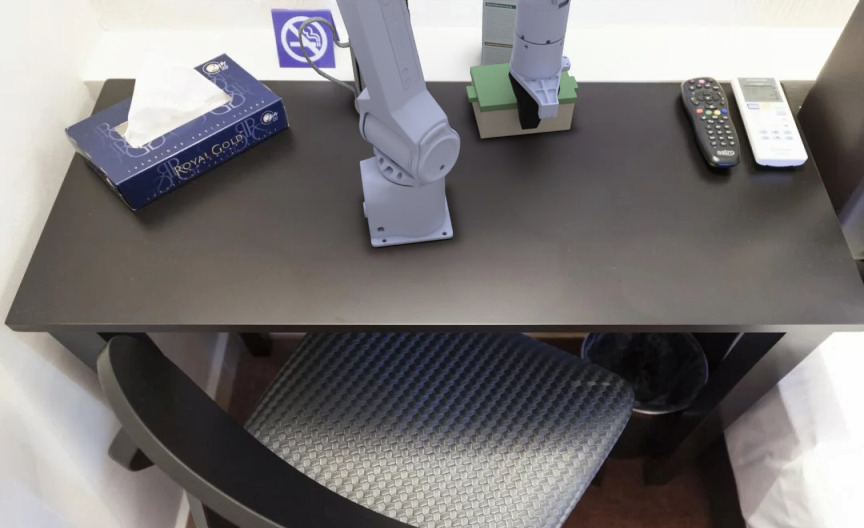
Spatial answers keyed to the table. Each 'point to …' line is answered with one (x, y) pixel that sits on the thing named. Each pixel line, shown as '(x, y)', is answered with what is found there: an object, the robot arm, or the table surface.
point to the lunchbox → (512, 102)
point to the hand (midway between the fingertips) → (528, 126)
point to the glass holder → (356, 70)
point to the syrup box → (497, 31)
